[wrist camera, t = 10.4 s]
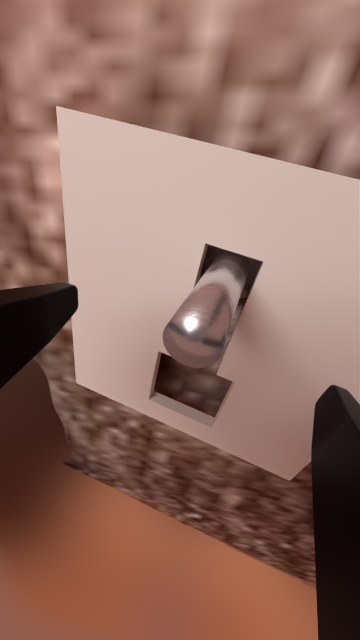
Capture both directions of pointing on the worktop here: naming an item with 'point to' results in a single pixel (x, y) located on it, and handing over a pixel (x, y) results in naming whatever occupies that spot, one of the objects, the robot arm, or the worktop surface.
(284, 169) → the keyhole board
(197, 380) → the worktop surface
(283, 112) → the worktop surface
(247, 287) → the steel peg
